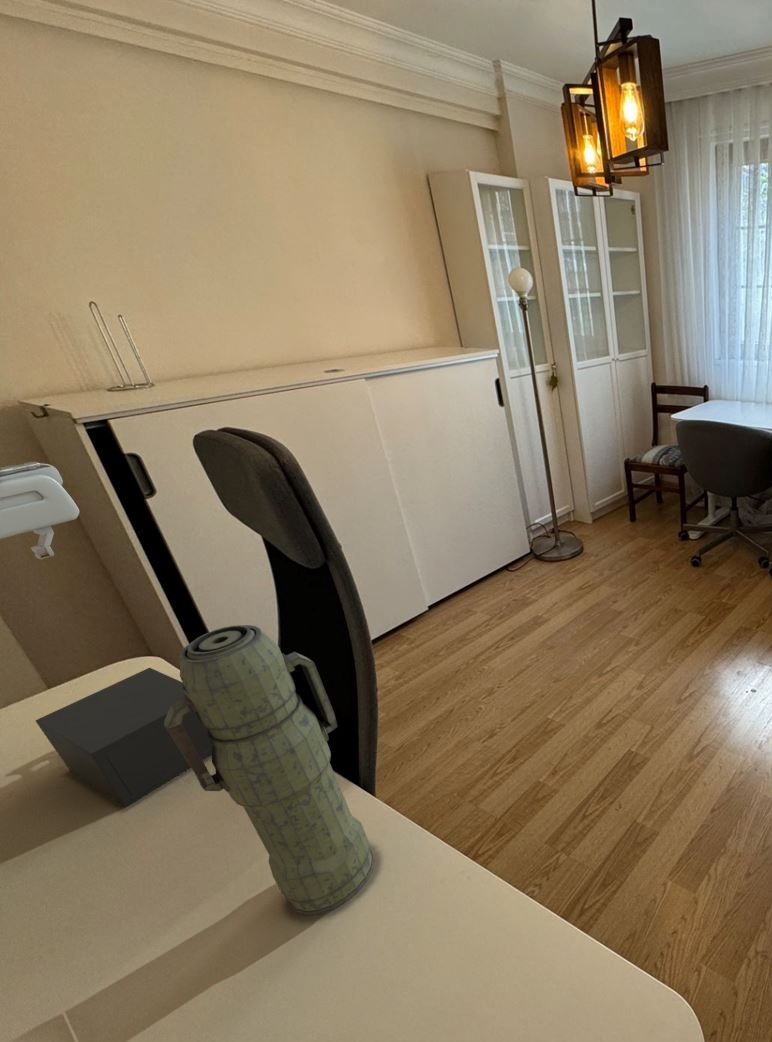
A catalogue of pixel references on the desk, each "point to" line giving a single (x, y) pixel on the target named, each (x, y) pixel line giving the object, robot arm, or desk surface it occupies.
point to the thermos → (273, 762)
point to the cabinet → (125, 736)
